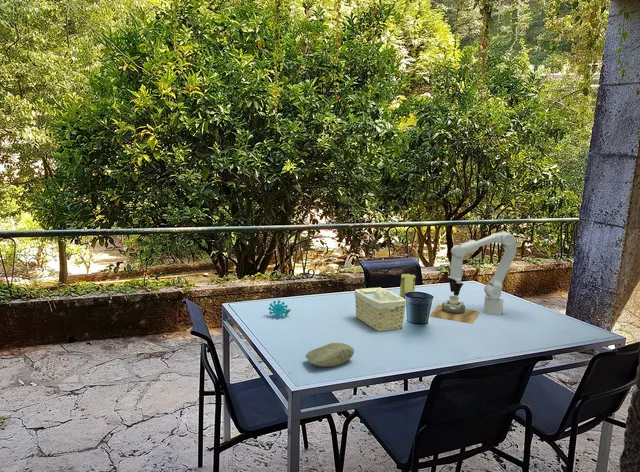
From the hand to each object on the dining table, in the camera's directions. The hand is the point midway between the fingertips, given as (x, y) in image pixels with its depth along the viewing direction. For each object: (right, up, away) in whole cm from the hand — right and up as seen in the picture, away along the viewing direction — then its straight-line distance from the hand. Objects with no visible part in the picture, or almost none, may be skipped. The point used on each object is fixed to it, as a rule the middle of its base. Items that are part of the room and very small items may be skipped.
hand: (454, 293), depth 273 cm
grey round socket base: (0, -9, +1) cm, 9 cm away
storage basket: (-42, -12, -20) cm, 49 cm away
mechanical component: (-21, -6, +25) cm, 33 cm away
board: (-1, -11, -4) cm, 12 cm away
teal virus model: (-91, -10, -17) cm, 93 cm away
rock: (-66, -19, -71) cm, 99 cm away
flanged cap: (0, -6, +1) cm, 6 cm away
